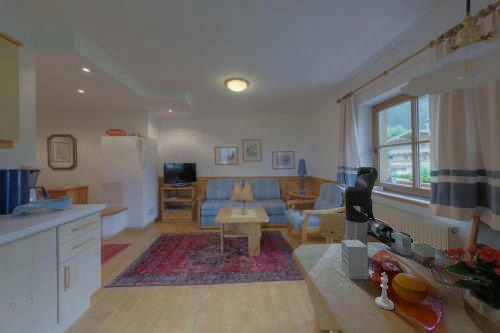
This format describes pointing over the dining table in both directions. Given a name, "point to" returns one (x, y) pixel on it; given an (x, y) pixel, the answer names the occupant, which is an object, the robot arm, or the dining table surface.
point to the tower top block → (424, 250)
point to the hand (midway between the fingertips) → (403, 241)
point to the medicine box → (402, 244)
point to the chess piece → (384, 295)
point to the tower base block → (424, 260)
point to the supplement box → (354, 259)
